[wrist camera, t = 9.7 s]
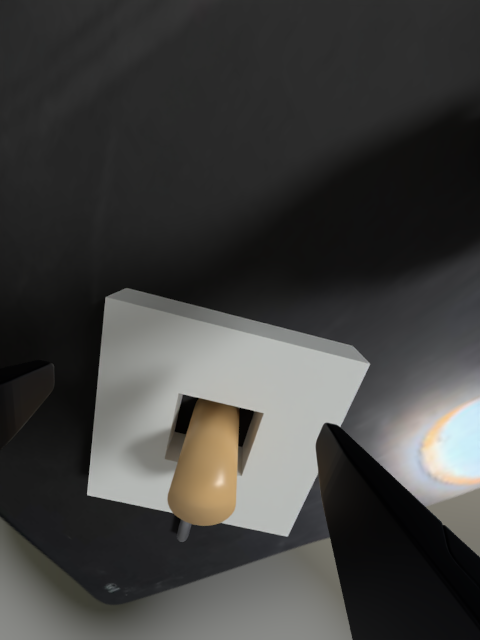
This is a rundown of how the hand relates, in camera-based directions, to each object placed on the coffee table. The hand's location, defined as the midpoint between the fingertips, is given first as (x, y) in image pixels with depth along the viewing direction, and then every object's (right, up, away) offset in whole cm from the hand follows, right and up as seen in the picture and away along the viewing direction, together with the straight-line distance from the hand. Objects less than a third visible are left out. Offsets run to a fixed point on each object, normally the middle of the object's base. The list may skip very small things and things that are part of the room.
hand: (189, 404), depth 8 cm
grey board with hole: (-1, -9, +15) cm, 17 cm away
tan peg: (0, -5, +14) cm, 15 cm away
